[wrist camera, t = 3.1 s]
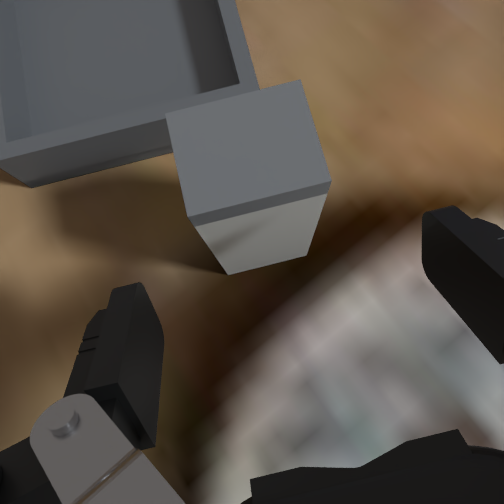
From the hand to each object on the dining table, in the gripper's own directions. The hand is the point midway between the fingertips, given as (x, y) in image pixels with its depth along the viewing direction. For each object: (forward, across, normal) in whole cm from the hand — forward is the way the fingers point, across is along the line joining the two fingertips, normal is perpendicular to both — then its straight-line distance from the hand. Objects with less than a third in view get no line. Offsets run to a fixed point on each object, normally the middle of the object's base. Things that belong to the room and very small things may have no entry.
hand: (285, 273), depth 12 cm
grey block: (+13, 0, +6) cm, 14 cm away
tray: (+24, +6, -5) cm, 26 cm away
